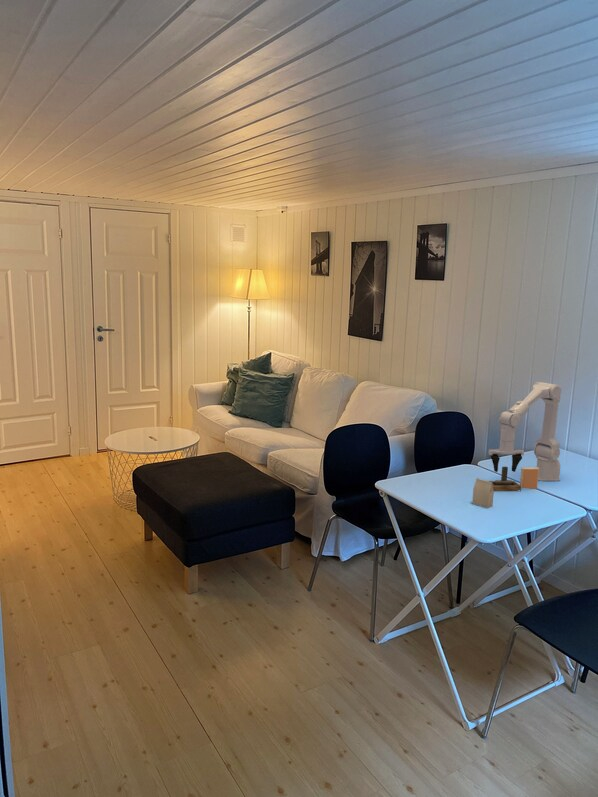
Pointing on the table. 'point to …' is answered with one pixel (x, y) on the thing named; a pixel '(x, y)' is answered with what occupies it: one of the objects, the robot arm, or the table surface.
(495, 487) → the frame
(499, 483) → the turner
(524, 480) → the tile
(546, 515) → the table surface
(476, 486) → the tea bag
